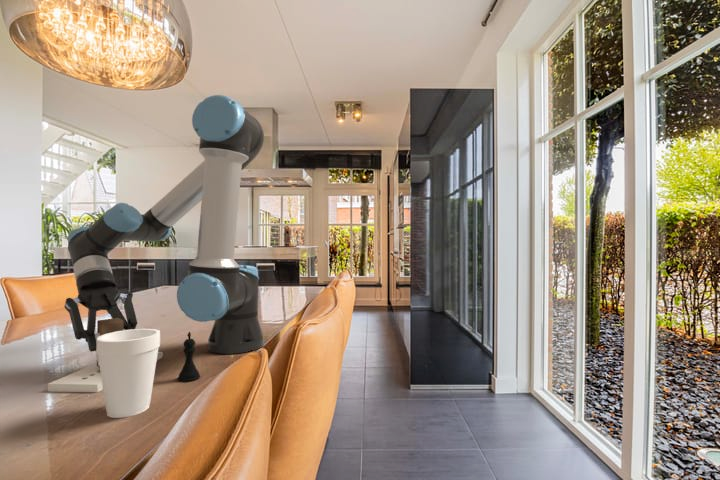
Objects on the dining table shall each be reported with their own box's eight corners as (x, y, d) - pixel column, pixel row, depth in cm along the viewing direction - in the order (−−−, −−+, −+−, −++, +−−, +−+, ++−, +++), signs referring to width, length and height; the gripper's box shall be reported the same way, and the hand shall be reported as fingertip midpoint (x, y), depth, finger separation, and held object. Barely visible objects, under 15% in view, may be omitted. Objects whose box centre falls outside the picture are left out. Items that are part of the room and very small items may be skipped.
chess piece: (174, 383, 75) (175, 335, 76) (180, 375, 80) (181, 330, 80) (197, 381, 76) (198, 333, 77) (201, 374, 81) (202, 329, 81)
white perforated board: (162, 357, 93) (162, 351, 93) (97, 392, 71) (97, 384, 71) (124, 357, 93) (124, 350, 93) (47, 391, 71) (47, 383, 71)
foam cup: (116, 398, 68) (117, 329, 68) (168, 397, 68) (169, 328, 69) (82, 423, 58) (83, 342, 58) (142, 421, 59) (143, 341, 59)
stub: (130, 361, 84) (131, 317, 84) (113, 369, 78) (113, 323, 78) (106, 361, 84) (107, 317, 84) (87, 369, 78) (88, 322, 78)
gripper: (130, 285, 98) (153, 359, 87) (47, 291, 85) (61, 379, 74) (137, 266, 94) (162, 340, 83) (51, 270, 81) (67, 358, 70)
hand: (115, 358), depth 78 cm, fingers closed on stub, 4 cm apart
